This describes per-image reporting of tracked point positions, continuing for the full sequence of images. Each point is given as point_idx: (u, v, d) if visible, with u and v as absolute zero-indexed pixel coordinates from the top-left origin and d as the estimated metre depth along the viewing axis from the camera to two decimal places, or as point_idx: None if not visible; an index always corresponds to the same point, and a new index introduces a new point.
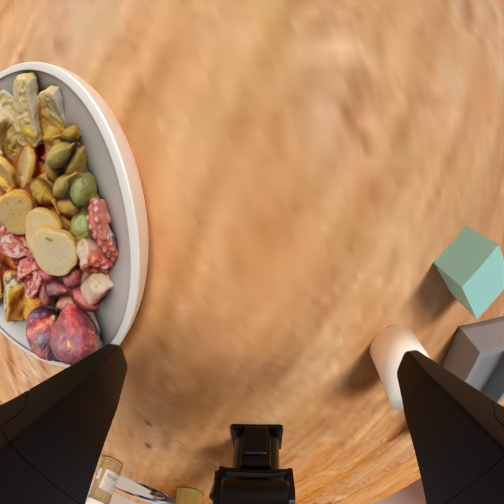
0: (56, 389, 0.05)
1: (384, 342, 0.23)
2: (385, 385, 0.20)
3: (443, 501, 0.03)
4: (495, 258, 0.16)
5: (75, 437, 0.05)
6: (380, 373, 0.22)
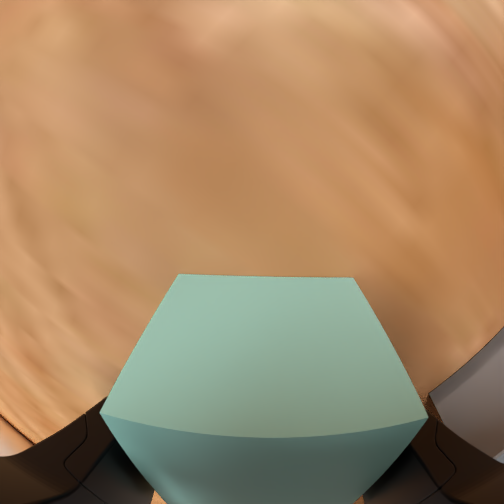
0: None
1: None
2: None
3: None
4: (164, 451, 0.04)
5: None
6: None
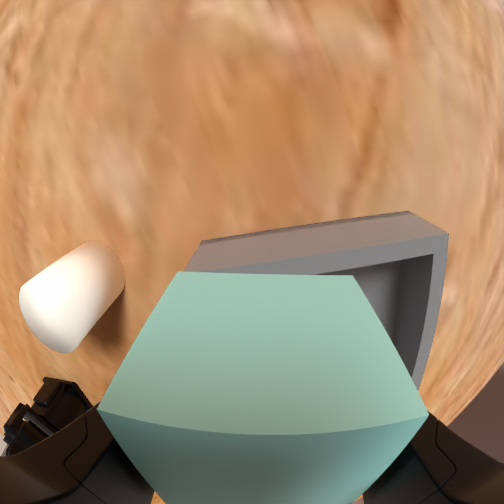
0: None
1: None
2: None
3: None
4: (161, 448, 0.03)
5: None
6: None
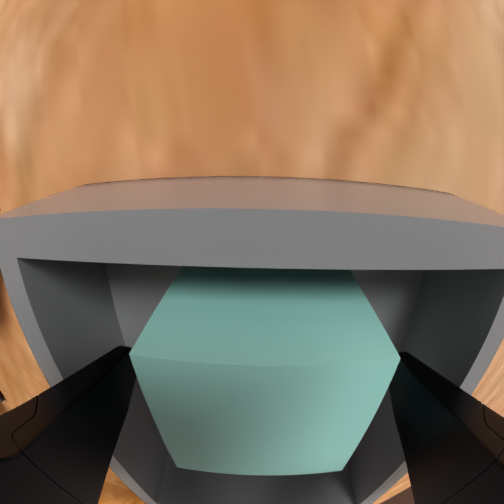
0: (67, 393, 0.05)
1: None
2: None
3: None
4: (180, 390, 0.05)
5: (87, 442, 0.05)
6: None
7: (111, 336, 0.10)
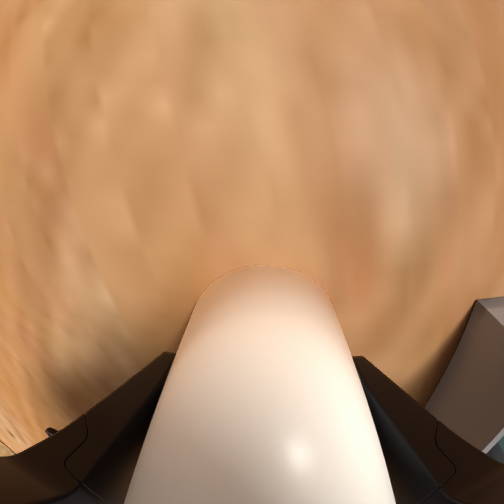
0: (120, 409, 0.05)
1: (196, 314, 0.07)
2: None
3: None
4: None
5: None
6: None
7: None
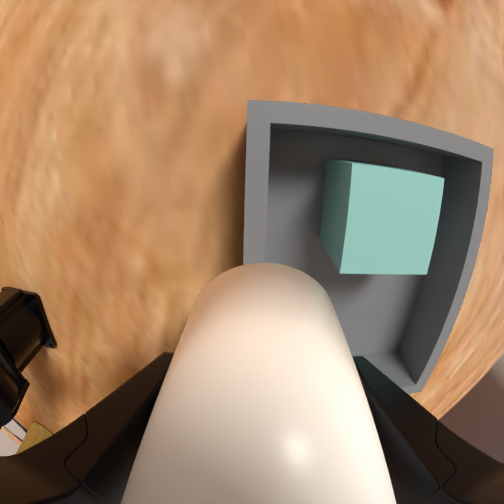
0: (120, 409, 0.05)
1: (195, 311, 0.07)
2: None
3: None
4: (369, 185, 0.11)
5: None
6: None
7: None
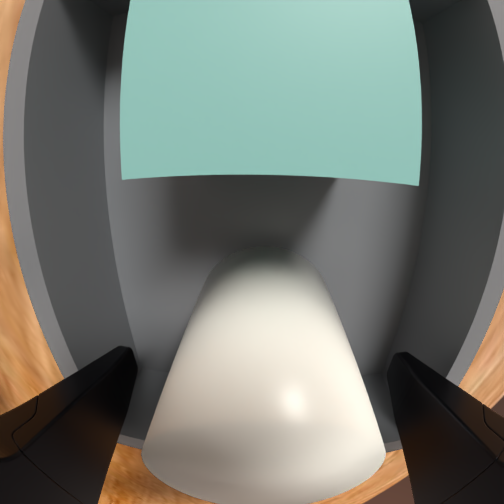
0: (67, 393, 0.05)
1: (206, 287, 0.09)
2: None
3: None
4: None
5: (87, 442, 0.05)
6: None
7: (91, 122, 0.08)
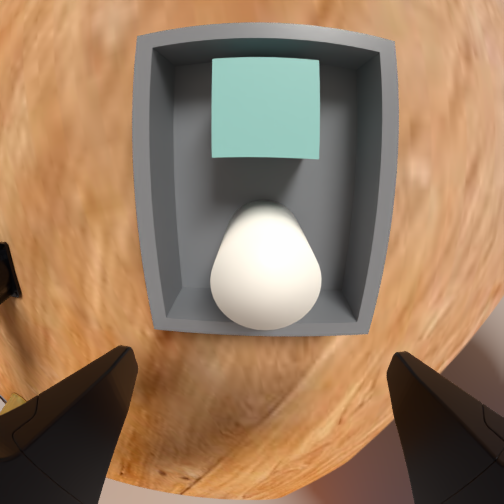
0: (67, 393, 0.05)
1: (233, 218, 0.17)
2: None
3: None
4: (230, 73, 0.11)
5: (87, 442, 0.05)
6: None
7: (169, 130, 0.16)
